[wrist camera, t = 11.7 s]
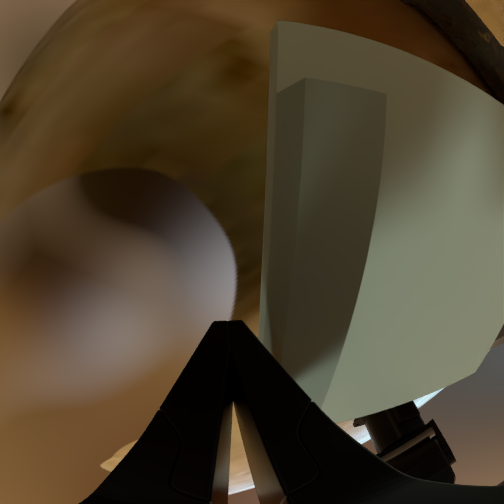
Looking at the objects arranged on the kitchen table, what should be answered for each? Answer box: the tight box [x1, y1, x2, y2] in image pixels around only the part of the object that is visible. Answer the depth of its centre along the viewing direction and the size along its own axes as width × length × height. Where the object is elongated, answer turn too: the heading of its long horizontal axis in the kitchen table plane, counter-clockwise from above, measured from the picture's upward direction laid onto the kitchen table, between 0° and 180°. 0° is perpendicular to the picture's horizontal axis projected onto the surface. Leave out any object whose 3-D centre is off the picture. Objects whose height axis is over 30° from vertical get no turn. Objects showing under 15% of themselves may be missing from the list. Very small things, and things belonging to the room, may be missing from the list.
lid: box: [258, 20, 504, 423], centre depth 8 cm, size 16×16×3 cm
